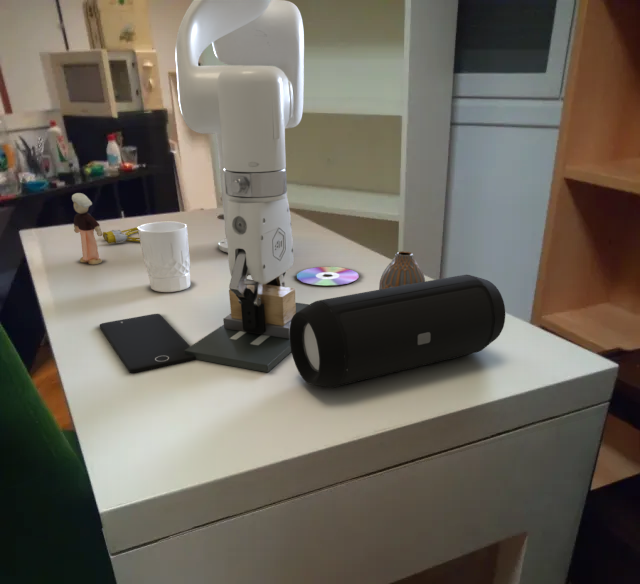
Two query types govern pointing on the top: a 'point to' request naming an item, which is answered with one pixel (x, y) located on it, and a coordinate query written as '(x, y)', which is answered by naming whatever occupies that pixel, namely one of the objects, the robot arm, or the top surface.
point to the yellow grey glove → (120, 236)
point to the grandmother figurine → (86, 229)
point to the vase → (401, 271)
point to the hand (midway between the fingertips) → (264, 323)
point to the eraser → (267, 310)
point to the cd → (317, 278)
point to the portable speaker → (394, 329)
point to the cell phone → (146, 343)
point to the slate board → (242, 348)
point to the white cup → (166, 255)
